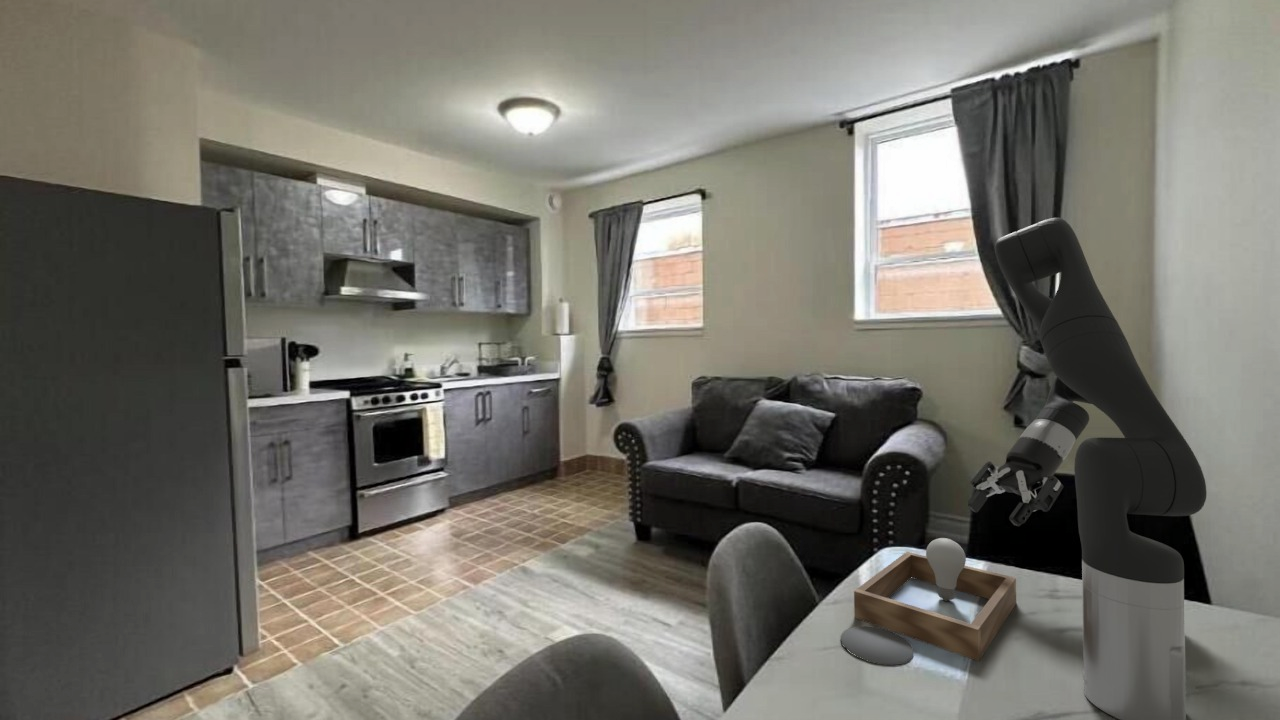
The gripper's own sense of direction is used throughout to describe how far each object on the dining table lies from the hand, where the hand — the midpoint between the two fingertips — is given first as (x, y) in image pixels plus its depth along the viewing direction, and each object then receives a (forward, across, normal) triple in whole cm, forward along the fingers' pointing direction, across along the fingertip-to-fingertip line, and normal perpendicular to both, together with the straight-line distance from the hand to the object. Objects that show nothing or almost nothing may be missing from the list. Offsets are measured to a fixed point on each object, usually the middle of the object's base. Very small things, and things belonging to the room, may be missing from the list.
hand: (991, 515), depth 96 cm
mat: (+32, +9, -12) cm, 36 cm away
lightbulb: (+17, 0, +3) cm, 18 cm away
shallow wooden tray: (+20, +2, 0) cm, 20 cm away
